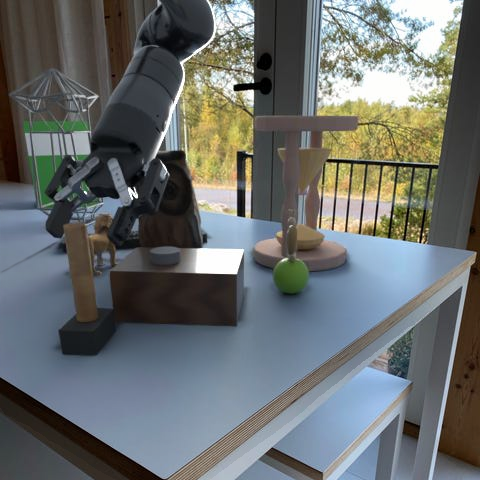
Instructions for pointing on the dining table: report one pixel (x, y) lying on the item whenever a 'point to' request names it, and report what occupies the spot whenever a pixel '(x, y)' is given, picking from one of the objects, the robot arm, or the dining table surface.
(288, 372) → the dining table surface
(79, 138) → the hardback book
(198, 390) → the dining table surface
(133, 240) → the keyboard
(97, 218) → the lion figurine
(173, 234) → the owl
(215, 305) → the brown wooden block
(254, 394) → the dining table surface
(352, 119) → the hourglass
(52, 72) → the geometric lantern
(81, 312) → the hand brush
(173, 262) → the grey short cylinder
